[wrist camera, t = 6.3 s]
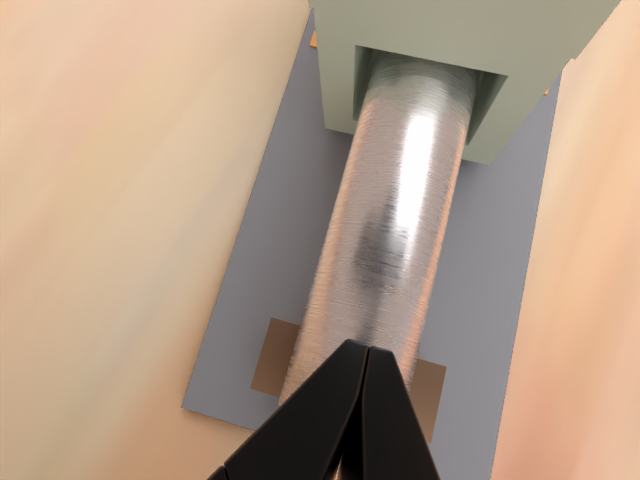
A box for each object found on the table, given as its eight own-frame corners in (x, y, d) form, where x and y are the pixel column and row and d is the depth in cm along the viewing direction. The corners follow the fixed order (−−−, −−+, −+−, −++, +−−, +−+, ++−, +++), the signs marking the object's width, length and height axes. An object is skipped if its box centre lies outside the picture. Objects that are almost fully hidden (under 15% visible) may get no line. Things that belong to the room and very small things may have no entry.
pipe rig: (480, 496, 15) (571, 592, 9) (187, 405, 16) (91, 435, 10) (576, -37, 19) (677, -211, 13) (344, -77, 20) (343, -254, 15)
